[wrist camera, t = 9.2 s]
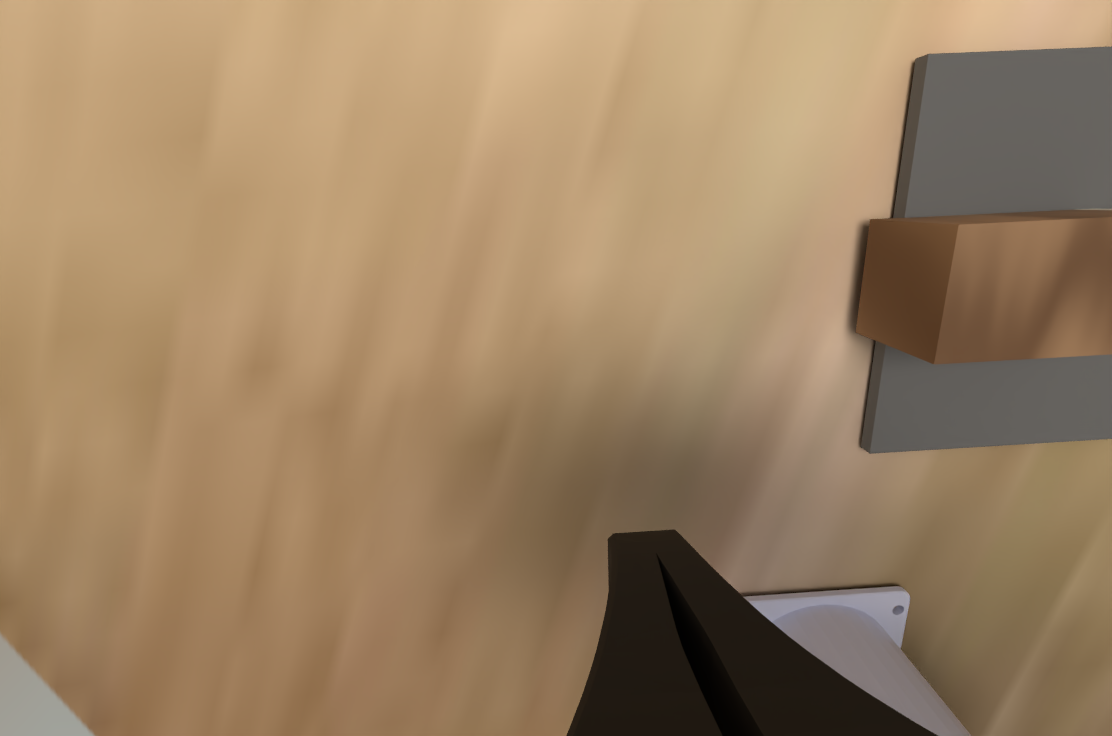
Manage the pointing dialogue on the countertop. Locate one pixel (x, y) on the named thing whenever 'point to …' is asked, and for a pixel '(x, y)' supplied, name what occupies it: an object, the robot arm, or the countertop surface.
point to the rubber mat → (985, 188)
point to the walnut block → (990, 285)
